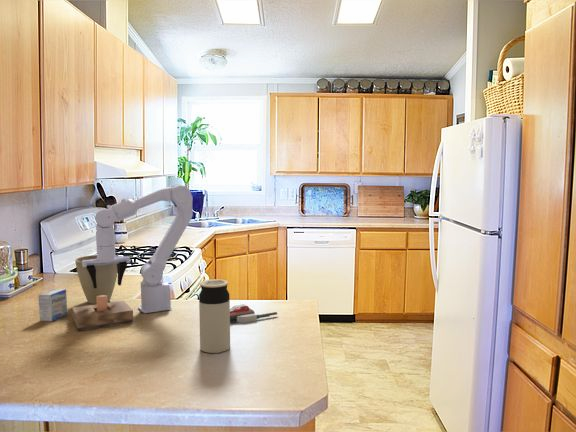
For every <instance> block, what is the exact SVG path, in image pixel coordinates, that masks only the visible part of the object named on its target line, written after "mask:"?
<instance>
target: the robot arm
mask: <svg viewBox="0 0 576 432" xmlns="http://www.w3.org/2000/svg"><path fill="white" fill-rule="evenodd" d="M193 200H194V198H193V195H192V193H191V191H190V189H189V188H188V187H187V186H186V185H181V184H174V185H172V186H166V187H163V188H160V189H158V190H155V191H152V192H151V193H148V194H146V195H144V196H142V197H140V198H136V199H135V200H133V199H131V198H127V199H126V198H121V199H120V202H117V203H114V204H112V205H110V204H108V205H107V206H106V208H101V209H98V210H97V212H96V213H95V216H94V220H95V222H96V225H95V226H96V227H95V230H96V231H95V240H96V241H95V242H96V244H95V245H96V255H97V258H96V259H90V260H82V266H83V267H86V269H87V270H88V272H89V274H90V277H91V279H92V282H93V287H94V288H97V284H96V269H95V266H97V265H108V264H117V271H118V273H117V285H118V286H122V282H123V277H124V274H125V271H126V270H127V268H128V264H130V263H131V261H130V260H131V259H130V256H127V255H125V256H119V257H116V256H117V255H116V236H115V235H116V234H115V230H114V227H115V226H114V225H115V224H114V223H115V222H117V223H118V222H121V221H123V220H126V219H128V218H130V217H134V216H135V215H137V213H138V212H139V211H138V210H140V209H143V208H145V207H147V206H150V205H153V204H156V203H159V202H161V201H162V202H171V203H172V204H173V206H174V209H175V212H176V215H175V217H174V219H173V221H172V223H171V225H170V226H169V228H168V229H167V231H166V233H164V236H163V238H162V240H161V242H160V243H159V245H158V246H157V248H156V250H155V251H154V254H153V255H151V256H150V258H149V259H148V261H147V262H145V263H144V264H143V265H142V266H141V268H140V276H141V277H142V281H141V282H140V298H141V299H140V303H141V305H140V306H139V305H138V307H137V308H138V310H139V311H141V312H142V314H150V313H156V312H163V311H170V310H172V307H171V305H172V303H171V302H172V301H171V300H172V299H171V288H170V284H169V282H167V281H166V282H163V280H162V279H163V273H164V271H165V269H166V266H167V262H168V261H169V258H170V256H171V255H172V253H173V251H174V249H175V247H177V244H178V242H179V240H180V239H181V237H182V235H183V233H184V232H185V230H186V228H187V227H188V225H189V224H190V222H191V220H192V218H193V216H194V212H193ZM115 255H116V256H115ZM109 262H110V263H109Z"/></svg>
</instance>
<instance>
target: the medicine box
mask: <svg viewBox="0 0 576 432" xmlns="http://www.w3.org/2000/svg"><path fill="white" fill-rule="evenodd" d="M67 301H68V300H67V289H65V288H55V289H50V290H49V291H46V292H43V293H40V294H38V312H39V321H41V322H51V323H52V322H54V321H56V320H59V319H61V318H63V317H65V316H67V315H68V302H67Z"/></svg>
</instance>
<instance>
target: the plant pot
mask: <svg viewBox="0 0 576 432" xmlns="http://www.w3.org/2000/svg"><path fill="white" fill-rule="evenodd" d="M115 256H116V257H120V256H119V255H116V254H115ZM96 258H97V254H94V255H93V254H92V255H84V256H80V257H77V258H75V260H74V261H75V268H76V271H77V276H78V279H79V283H80V286H81V289H82V291H83V294H84V296H85V298H86V300H87V302H88V304H90V305H95V304H97V302H96V297H97V296H100V295H107V303H110V301H111V299H112V296H113V292H114V289H115V286H116V282H117V279H118V271H117V264H108V265H97V266H95V269H96V284H97V288H94V287H93V282H92V279H91V277H90V274H89V272H88V270H87V269H86V267H83V266H82V260H90V259H96ZM109 263H110V262H109Z"/></svg>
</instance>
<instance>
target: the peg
mask: <svg viewBox="0 0 576 432" xmlns="http://www.w3.org/2000/svg"><path fill="white" fill-rule="evenodd" d="M96 302H97V312H98V311H105V310H108V304H107V303H108V302H107V295H100V296H97V297H96Z"/></svg>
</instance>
